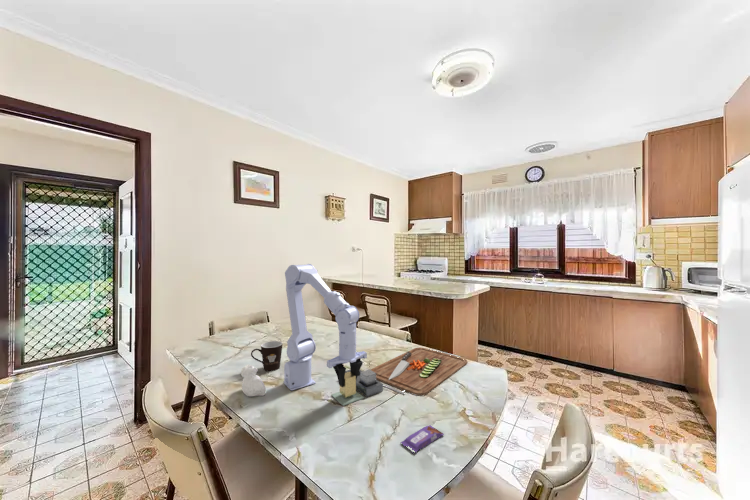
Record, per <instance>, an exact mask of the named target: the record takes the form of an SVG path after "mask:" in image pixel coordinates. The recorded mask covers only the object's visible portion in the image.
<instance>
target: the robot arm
mask: <svg viewBox="0 0 750 500" xmlns="http://www.w3.org/2000/svg"><path fill="white" fill-rule="evenodd" d="M284 277H285V291H286V297H287V305H288V312H289V319H290V328H291V335H290V337H289V338H288V339H287V341H286V343H287V348H286V355H287V357H288V359H289V360H288V361H285V363H284V367H283V368H284V369H283V373H284V375H283V384H284V386H286V387H287V388H288V389H289V390H290V391H294V390H298V389H302V388H305V387H308V386H311V385H314V384H316V381H315V380H314V379H313V378H312V358H313V356H314V353H315V352H316V348H317V344H316V342H315V340H314V338H313V337H314V336H313V334H312V333H311V332H309V330H308V328H307V321H306V314H305V306H304V299H303V294H302V293H303V292H302V290H303V288H304V287H305V285H306V284H309V285H311V287H312V288H313V289H314V290H316V292H318V293H319V295H321V296H322V297H323V302H324V303H323V304H324V305H325V306H326V307H327V308H328V309H329V310H330V311H331V313H333V315H334V316H335V322H336V323H337V327H338V328H337V329H338V336H339V337H338V344H339V345H338V355H337V356H335V357H333V358H330V359H328V360H326V367H327V368H328V369H332V368H333V369H334V371H335V374H336V376H337V382H338V385H339V387H340V386H341V387H344V377H345V371H347V367H345V366H344V364H347V363H349V368H350V369H351V373H352V374H354V375H355V376H356V380H357V376H358V373H359V370H361V368H362V366H363V362H364V361H362V360H361V359H364V360H365V359H368V356H367V355H368V352H367V351H364V350H362V351H357V322H358V321H359V320H360V311H359V310H358V308H357V306H354V305H350V303H349V302H348V301H346V300H345V299H344V298H343V297H342V296H341V293H340V292H337V291H335V290H333V291H332V290H331V288H330V287H329V286H328V285H327V283H326V282H325V281H324V280H323V279H322V278H321V275H319V273H318V269H317V268H315V266H314V265H313V264H312V263H306V264H291V265H289V266H288V267H287V269H286V270H285V272H284ZM350 369H349V370H350Z"/></svg>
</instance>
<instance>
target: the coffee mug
mask: <svg viewBox="0 0 750 500" xmlns="http://www.w3.org/2000/svg"><path fill="white" fill-rule="evenodd" d="M255 351H258V352H260V354H261V359H262V360H261V359H258V358H257V357H255V356H253V355H254V354H253V353H254V352H255ZM282 352H283V341H280V340H271V341H266V342H263V343H261V344H260V348H254V349H253V350H251V353H250V356H251V358H252V359H253V360H255V361H257V362H258V363H259V362H260V363H261V364H262V367H263V371H265V372H274V371H277V370H279V369H280V368H281V361H282Z"/></svg>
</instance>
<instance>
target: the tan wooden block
mask: <svg viewBox="0 0 750 500" xmlns="http://www.w3.org/2000/svg"><path fill="white" fill-rule="evenodd" d="M356 391H357V390H356V376H355V375H354V374H352V373H351V372H347V373H345V377H344V387H341V386H340V385H339V392H340V393H341V394H342V395H343V396H344V397H345V398H346V397H348V396H351V395H354V394H356Z"/></svg>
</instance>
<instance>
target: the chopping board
mask: <svg viewBox="0 0 750 500" xmlns="http://www.w3.org/2000/svg"><path fill="white" fill-rule="evenodd" d="M430 349H432V350H430ZM433 350H436V351H433ZM437 351H438V352H437ZM441 352H442V353H441ZM450 355H451V356H450ZM457 357H459V358H457ZM463 359H464V360H463ZM467 364H468V360H467V359H466V358H465V357H464V358H463V357H461V356H460V355H456V354H452V353H450V352H449V353H448V352H446V351H442V350H437V349H434V348H425V347H415V348H413V349H411V350H408V351H406V352H404V353H402V354H400V355H398V356H395V357H393V358H392V359H390V360H388V361H385V362H382V363H381V364H379V365H377V366H374V367H372V368H370V370H371V371H373V372H375V373H376V380H377V381H379V382H381V383H382V384H383V388H386V389H389V390H391V391H394V392H396V393H398V394H401V395H403V396H405V395H406V392H407V393H408V394H412V395H415V396H426V395H428V394H429V393H431V391H433V390H435V389H436V388H438V386H439V385H441V384H442V383H444V382H445V381H446V380H448V379H449V378H450V377H452V376H453V375H454V374H456V373H457V372H459V371H460V370H461V369H462V368H464V367H465V366H467ZM386 384H387V385H386ZM389 385H390V386H389ZM391 386H392V387H391ZM394 387H395V388H394Z"/></svg>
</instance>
